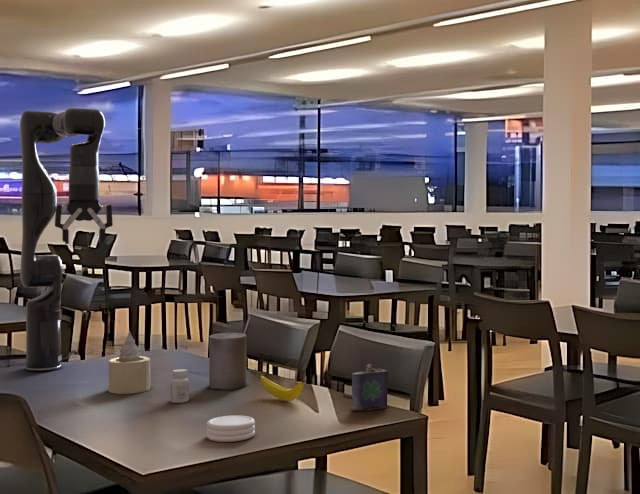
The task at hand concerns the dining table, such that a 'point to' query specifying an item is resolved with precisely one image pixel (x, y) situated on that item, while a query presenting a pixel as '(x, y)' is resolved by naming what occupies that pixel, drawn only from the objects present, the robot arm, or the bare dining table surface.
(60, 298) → the robot arm
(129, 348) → the grey tall pointed piece
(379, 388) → the flask
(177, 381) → the pill bottle
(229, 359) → the pillar candle
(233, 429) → the coaster
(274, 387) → the banana
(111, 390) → the hollow cream cylinder
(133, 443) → the dining table surface
